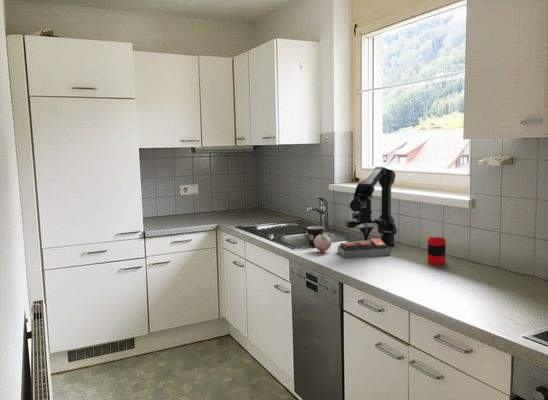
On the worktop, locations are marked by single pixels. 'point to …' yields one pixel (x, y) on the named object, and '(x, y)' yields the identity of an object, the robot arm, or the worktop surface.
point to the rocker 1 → (348, 244)
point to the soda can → (436, 249)
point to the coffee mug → (313, 233)
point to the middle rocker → (363, 243)
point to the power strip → (363, 250)
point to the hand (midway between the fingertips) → (365, 240)
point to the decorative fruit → (322, 242)
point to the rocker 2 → (377, 241)
